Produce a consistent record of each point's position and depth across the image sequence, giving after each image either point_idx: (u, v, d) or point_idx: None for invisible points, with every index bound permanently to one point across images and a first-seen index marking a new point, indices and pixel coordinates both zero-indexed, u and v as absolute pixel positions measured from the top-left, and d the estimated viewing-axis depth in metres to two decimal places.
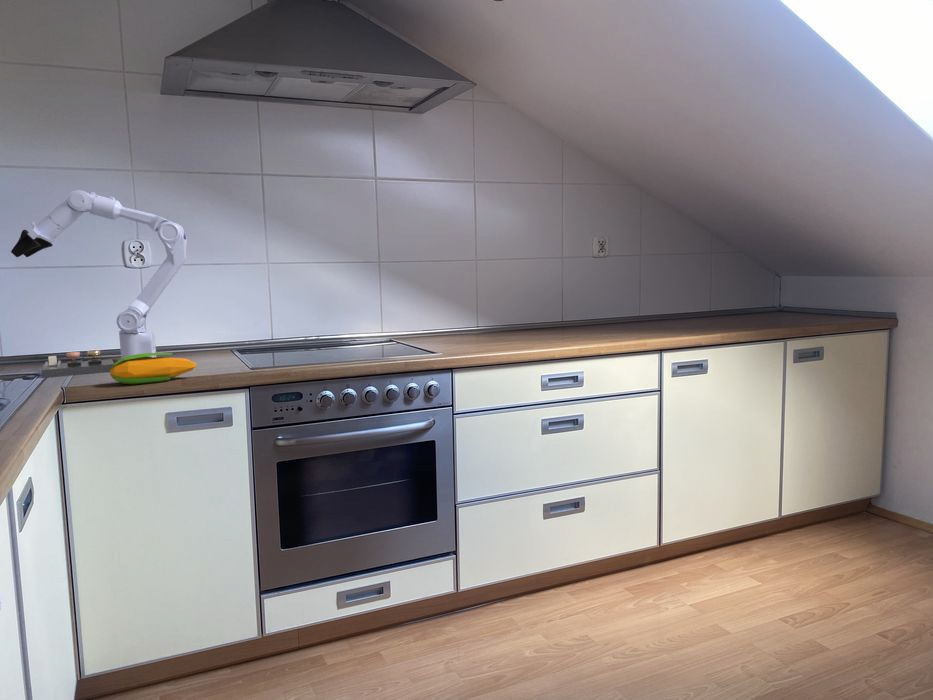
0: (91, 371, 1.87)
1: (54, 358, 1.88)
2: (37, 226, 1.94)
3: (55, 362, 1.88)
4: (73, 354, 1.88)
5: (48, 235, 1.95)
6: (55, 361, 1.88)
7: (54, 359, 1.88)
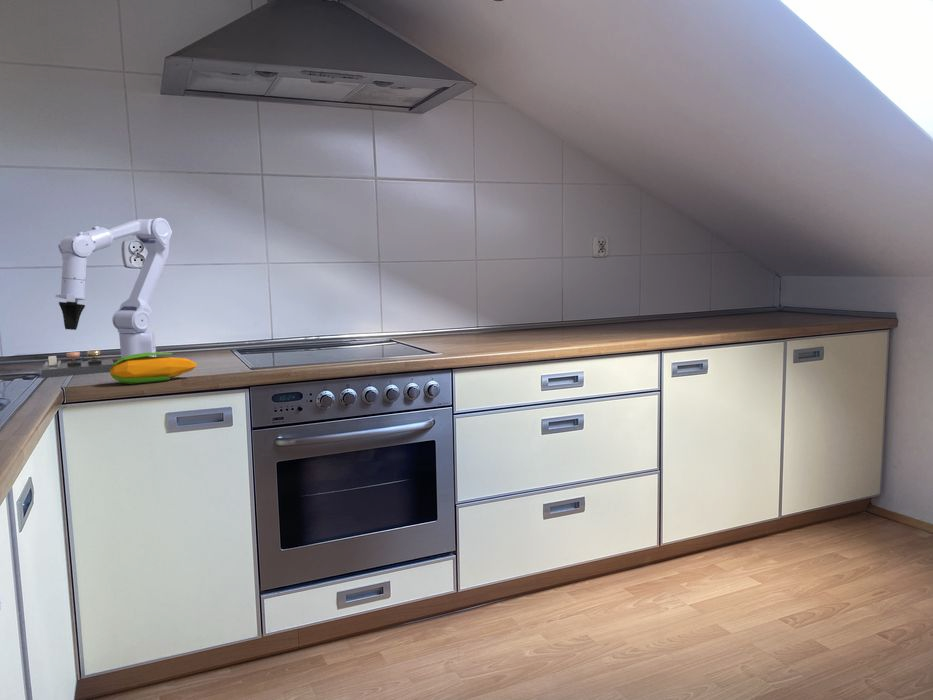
0: (91, 371, 1.87)
1: (54, 358, 1.88)
2: (64, 293, 1.86)
3: (55, 362, 1.88)
4: (73, 354, 1.88)
5: (79, 293, 1.87)
6: (55, 361, 1.88)
7: (54, 359, 1.88)
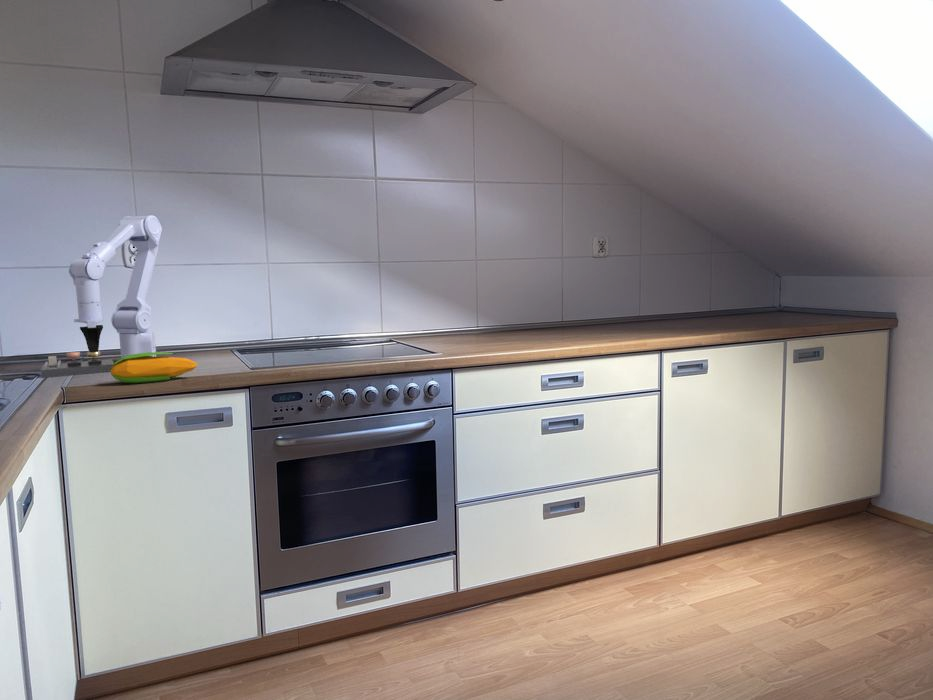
0: (91, 371, 1.87)
1: (54, 358, 1.88)
2: (82, 318, 1.88)
3: (55, 362, 1.88)
4: (73, 354, 1.88)
5: (97, 316, 1.89)
6: (55, 361, 1.88)
7: (54, 359, 1.88)
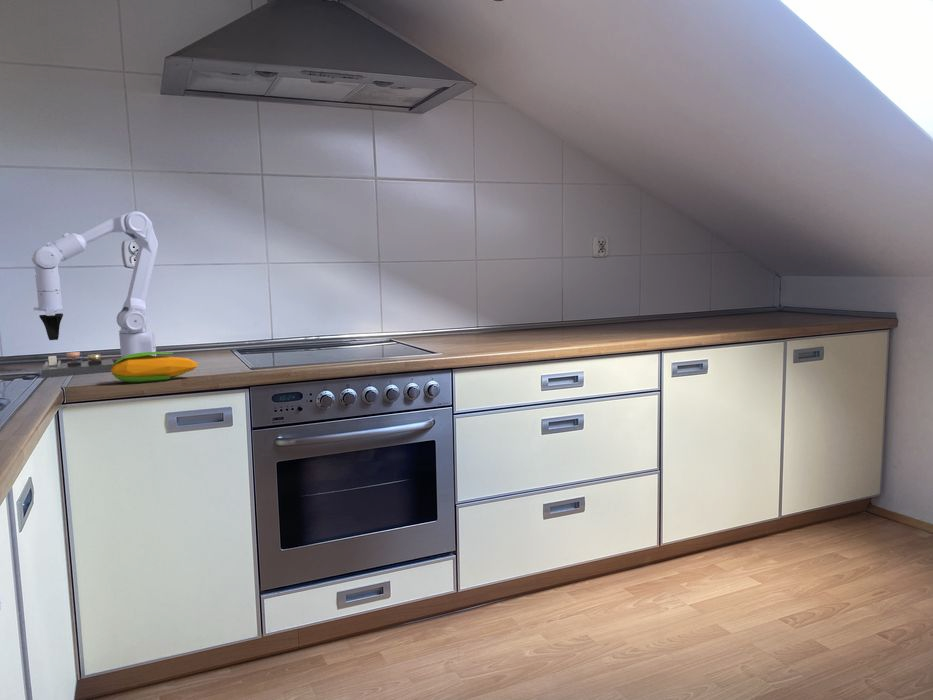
0: (91, 371, 1.87)
1: (54, 358, 1.88)
2: (42, 306, 1.89)
3: (55, 362, 1.88)
4: (73, 354, 1.88)
5: (57, 304, 1.90)
6: (55, 361, 1.88)
7: (54, 359, 1.88)
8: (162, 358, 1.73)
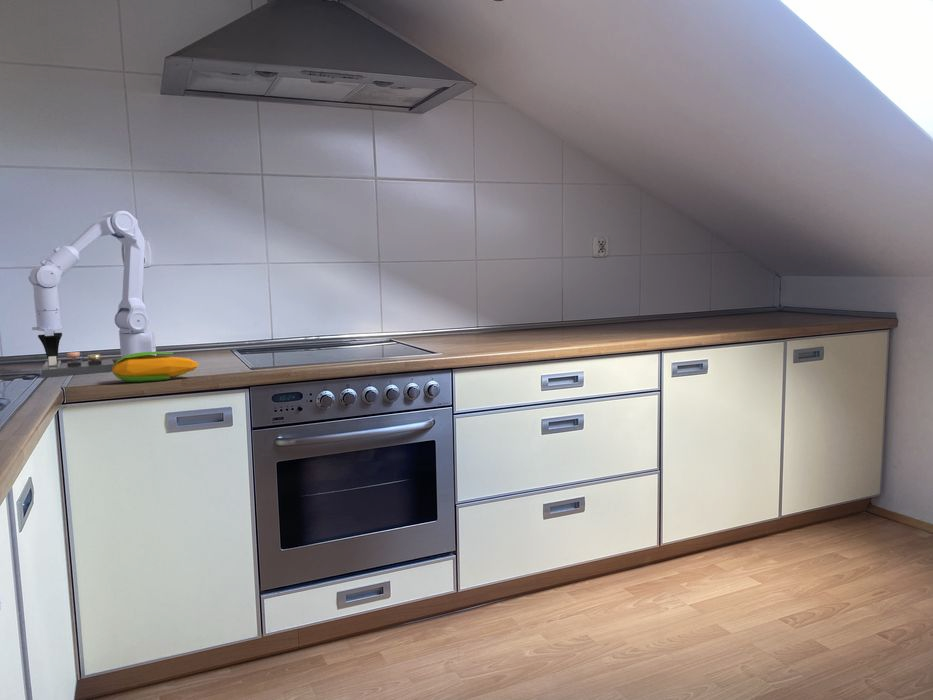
0: (91, 371, 1.87)
1: (54, 358, 1.88)
2: (40, 326, 1.86)
3: (55, 362, 1.88)
4: (73, 354, 1.88)
5: (55, 324, 1.87)
6: (55, 361, 1.88)
7: (54, 359, 1.88)
8: (162, 358, 1.73)
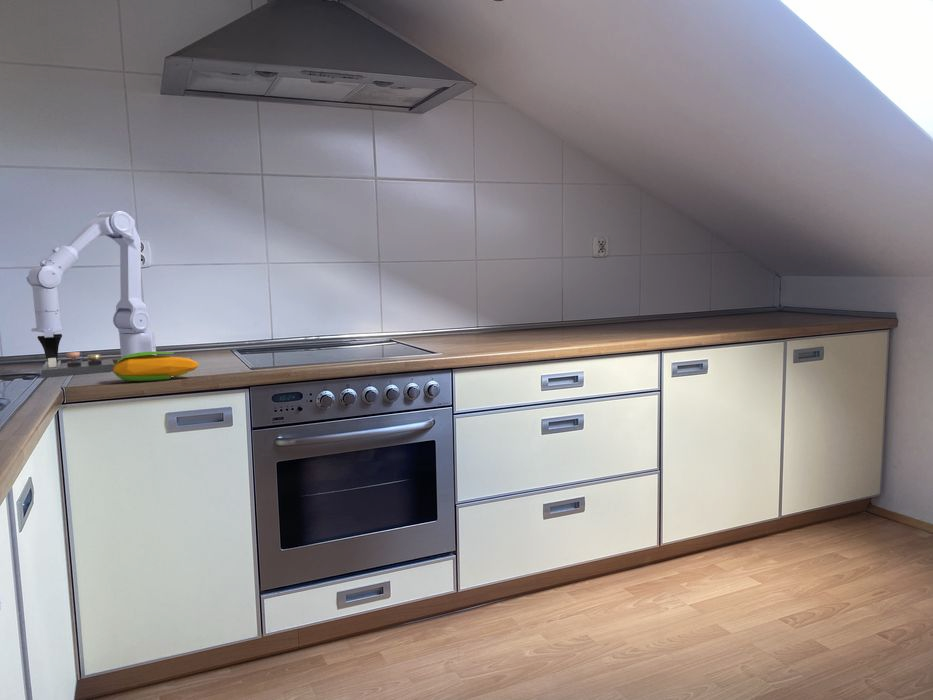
0: (91, 371, 1.87)
1: (54, 360, 1.85)
2: (40, 327, 1.83)
3: (55, 364, 1.85)
4: (73, 354, 1.88)
5: (55, 325, 1.84)
6: (55, 363, 1.85)
7: (54, 361, 1.85)
8: (163, 358, 1.74)
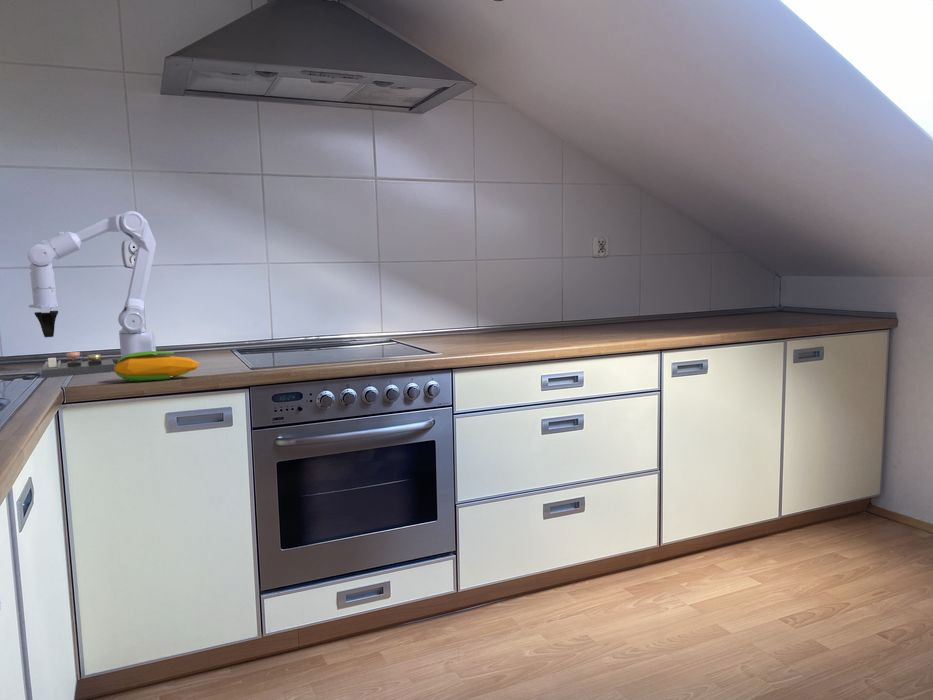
0: (91, 371, 1.87)
1: (54, 360, 1.85)
2: (37, 303, 1.90)
3: (55, 364, 1.85)
4: (73, 354, 1.88)
5: (52, 301, 1.92)
6: (55, 363, 1.85)
7: (54, 361, 1.85)
8: (163, 357, 1.74)
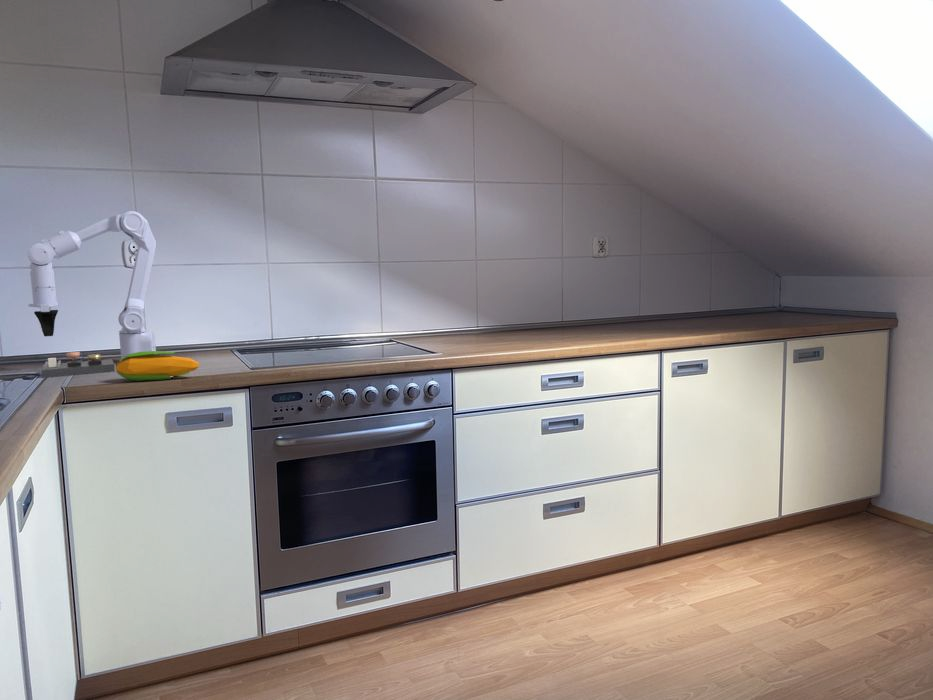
0: (91, 371, 1.87)
1: (54, 360, 1.85)
2: (36, 302, 1.91)
3: (55, 364, 1.85)
4: (73, 354, 1.88)
5: (51, 300, 1.92)
6: (55, 363, 1.85)
7: (54, 361, 1.85)
8: (163, 357, 1.74)
